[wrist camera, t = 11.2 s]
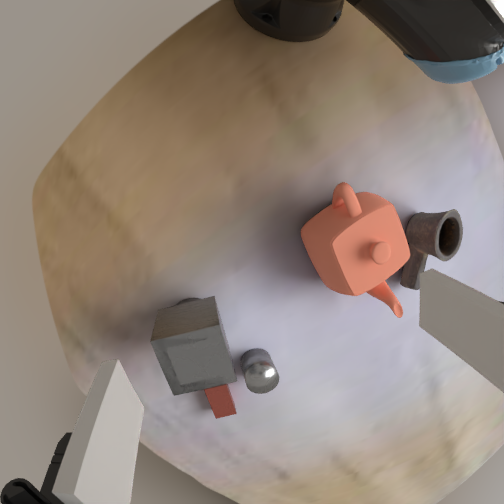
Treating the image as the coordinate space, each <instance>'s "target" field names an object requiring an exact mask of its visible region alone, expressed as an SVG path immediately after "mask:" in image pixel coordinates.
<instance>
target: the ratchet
mask: <svg viewBox="0 0 504 504" xmlns="http://www.w3.org/2000/svg"><path fill="white" fill-rule="evenodd" d="M196 300H200V299H199V298H188V299H185V300H183V301H181V302H179V303H178V304H177V305H181V304H185V303H189V302H193V301H196ZM177 305H176V306H177ZM204 390H205V393H206V395H207V398H208V400H209V403H210V405H211V408H212V410H213V413H214V415H215V417H216V418H220V417H225V416H229V415H233V414H237V413H236V409H235V404H234V401H233V399H232V396H231V393H230V390H229V387H228V384H224V385H220V386H215V387H211V388H207V389H204Z"/></svg>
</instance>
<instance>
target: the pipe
mask: <svg viewBox="0 0 504 504" xmlns="http://www.w3.org/2000/svg"><path fill="white" fill-rule="evenodd" d="M462 235H463V227H462V221H461V218H460V215H459V213H458V211H457V210H455V209H453V210H450V211H446V212H441V213H424V212H420V213H417V214H415V215H414V216H413V217H412V218H411V220H410V221H409V223H408V226H407V230H406V236H407V239H408V242H409V250H410V258H409V259H408V261H407V262H406V263H405V264H404V268H403V272H402V277H401V281H400V284H401V285H402V286H404V287H406V288H410V289H415V290H418V289H419V288H420V273H422V272H424V269H425V265H426V260H427V257H428V254H430V255H433V256H435V257H437V258H438V259H440V260H442V261H448V260H449V259H451V258H452V257H453V256H454V255H455V254H456V253H457V251H458V250H459V247H460V244H461V240H462Z"/></svg>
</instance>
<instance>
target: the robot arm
mask: <svg viewBox="0 0 504 504" xmlns="http://www.w3.org/2000/svg"><path fill="white" fill-rule="evenodd" d="M346 1H348V2H349V3H350V4H351V5H353V6H354V7H355V8H356V9H357V10H359V11H360V12H361V13H362V14H363V15H365V16H366V17H367V18H368V19H369V20H370V21H371V22H372V23H374V24H375V25H376V26H377V27H378V28H379V29H380V30H381V31H382V32H383V33H384V34H385V35H386V36H388V37H389V38H390V39H391V40H392V41H393V42H394V43H395V44H396V45H397V46H398V47H399V48H400V49H401V50H402V52H403V53H404V55H405V56H406V57H407V58H408V59H409V60H411V61H413V62H414V63H415V64H416V65H417V66H418V67H419V68H420V69H421V70H422V71H423V72H424V73H425V74H426V75H427V76H428V77H430V78H431V79H433V80H435V81H439V82H442V83H449V84H455V83H463V82H468V81H472V80H475V79H478V78H481V77H483V76H485V75H487V74H489V73H491V72H493V71H494V70H495V69H497V65H500V64H503V63H504V0H346ZM234 2H235V5H236V8H237V10H238V12H239V13H240V15H241V16H242V17H243V18H244V19H245V20H246V21H247V22H248V23H249V24H250V25H251V26H253V27H254V28H255V29H257V30H259V31H260V32H262V33H264V34H266V35H268V36H271V37H274V38H277V39H280V40H285V41H293V42H303V41H310V40H314V39H317V38H320V37H322V36H323V35H325V34H326V33H327V32H329V31H330V30H331V28H332V27H333V26H334V25H335V24H336V23H337V22H338V20H339V18H340V16H341V12H342V8H343V4H344V0H234ZM419 326H420V327H421V328H422V329H424V330H425V331H426V332H428V333H429V334H430V335H432V336H433V337H434V338H435V339H437V340H438V341H439V342H441V343H442V344H443V345H445V346H446V347H447V348H448V349H450V350H451V351H452V352H454V353H455V354H456V355H457V356H459V357H460V358H461V359H462V360H464V361H465V362H466V363H468V364H469V365H470V366H471V367H473V368H474V369H475V370H476V371H478V372H479V373H480V374H481V375H483V376H484V377H485V378H486V379H488V380H489V381H490V382H491V383H492V384H494V385H495V386H496V387H497V388H499V389H500V390H501V391H502V392H503V393H504V302H500V301H496V300H495V299H493V298H491V297H489V296H487V295H485V294H483V293H481V292H479V291H477V290H475V289H473V288H471V287H469V286H467V285H465V284H463V283H461V282H459V281H457V280H455V279H453V278H451V277H449V276H446V275H444V274H442V273H440V272H438V271H436V270H434V269H430V270H427V271H425V272H422V273H420V321H419ZM143 413H144V407H143V405H142V403H141V401H140V400H139V398H138V396H137V394H136V392H135V391H134V389H133V387H132V385H131V383H130V381H129V379H128V377H127V375H126V373H125V371H124V369H123V367H122V365H121V363H120V361H119V359H115V360H110V361H104V362H102V364H101V366H100V368H99V370H98V372H97V375H96V377H95V379H94V382H93V384H92V386H91V388H90V391H89V393H88V396H87V398H86V401H85V403H84V405H83V408H82V410H81V413H80V415H79V417H78V420H77V422H76V425H75V428H74V431H73V433H66V434H65V435H64V437H63V438H62V439H61V440H60V441H59V442H58V445H57V447H56V450H55V452H54V454H55V455H54V456H53V458H52V460H51V464H50V465H49V468H48V471H47V474H46V477H45V479H44V482H43V485H42V488H41V491H40V492H39V491H38V490H37V489H36V488H35V487H34V486H33V485H32V484H31V483H30V482H29V481H27V480H25V479H21V478H18V479H14V480H11V481H10V482H9V483H7V484H6V485H5V487H4V488H3V490H2V492H1V496H0V498H1V503H2V504H130V502H131V493H132V485H133V477H134V470H135V463H136V456H137V449H138V443H139V437H140V431H141V425H142V419H143Z"/></svg>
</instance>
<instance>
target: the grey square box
mask: <svg viewBox="0 0 504 504" xmlns="http://www.w3.org/2000/svg"><path fill="white" fill-rule="evenodd" d="M151 344H152V346H153V349H154V351H155V354H156V356H157V358H158V361H159V363H160V366H161V368H162V370H163V372H164V375H165V377H166V379H167V382H168V384H169V386H170V388H171V390H172V393H173V395H179V394H184V393H189V392H194V391H198V390H203V389H207V388H211V387H215V386H220V385H224V384H228V383H232V382H236V381H237V378H236V374H235V370H234V366H233V362H232V357H231V353H230V349H229V345H228V341H227V338H226V335H225V331H224V328H223V324H222V321H221V317H220V314H219V311H218V307H217V303H216V300H215V296H212V297H208V298H204V299H200V300H196V301H193V302H189V303H185V304H181V305H177V306H173V307H169V308H164V309H160V310H158V314H157V318H156V322H155V325H154V329H153V333H152V337H151Z"/></svg>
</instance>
